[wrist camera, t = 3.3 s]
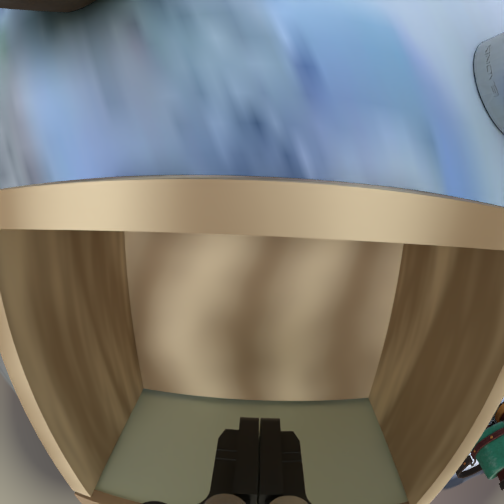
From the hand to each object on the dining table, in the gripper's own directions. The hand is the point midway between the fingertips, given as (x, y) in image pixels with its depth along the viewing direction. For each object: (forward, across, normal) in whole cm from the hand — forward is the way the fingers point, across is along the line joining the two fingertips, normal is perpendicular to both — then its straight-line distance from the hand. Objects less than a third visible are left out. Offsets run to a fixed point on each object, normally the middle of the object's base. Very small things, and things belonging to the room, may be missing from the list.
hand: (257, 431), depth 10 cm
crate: (+10, 0, -1) cm, 10 cm away
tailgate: (+10, 0, +8) cm, 13 cm away
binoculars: (+11, -28, +17) cm, 34 cm away
